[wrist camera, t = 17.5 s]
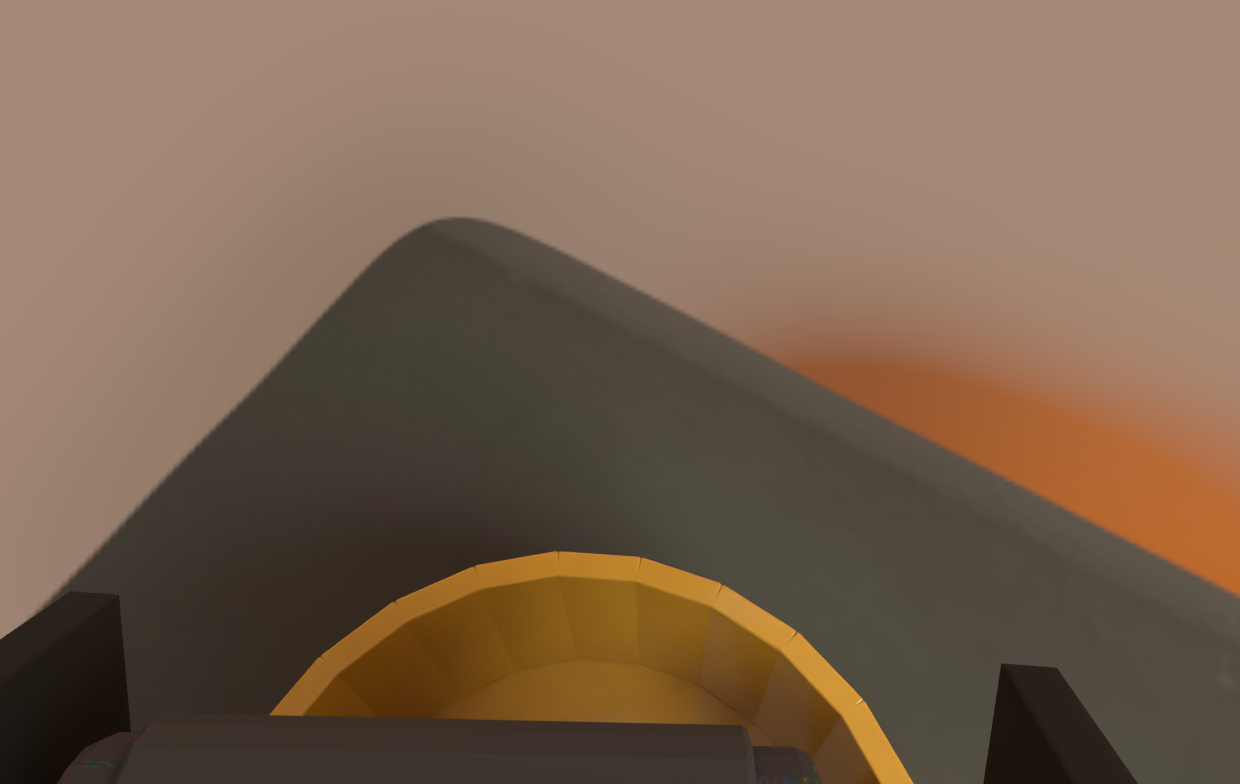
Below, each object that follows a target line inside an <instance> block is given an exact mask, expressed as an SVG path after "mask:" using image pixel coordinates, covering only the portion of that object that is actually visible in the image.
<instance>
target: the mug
mask: <svg viewBox="0 0 1240 784" xmlns="http://www.w3.org/2000/svg"><path fill="white" fill-rule="evenodd" d="M270 715H288V716H335V717H383V718H430V719H477V720H524V721H571V722H619V723H666V724H713V725H742V726H744V727H745V728H747V730H748V734H749V737H750V740H751V744H752V746H774V747H796V748H798V749H800V750H801V751H803V752H805V753H807V754H809V755H810V757H811V759H812V761H813V762H814V764H815V767H816V769H817V772H818V775H819V777H820V780H821V782H822V784H914V783H913V782H912V780H911V778H910V777H909V775H908V773H907V772H906V770H905V768H904V767H903V765H902V763H901V761H900V760H899V758H898V756H897V755H896V753H895V751H894V750H893V748H892V746H891V745H890V743H889V741H888V740H887V738H886V736H885V734H884V733H883V731H882V729H881V728H880V726H879V724H878V723H877V721H876V719H875V718H874V716H873V714H872V713H871V711H870V709H869V707H868V706H867V704H866V702H865V701H862V697H861V696H860V695H859V694H858V693H857V692H856V691H855V690H854V689H853V688H852V687H851V686H850V685H849V684H848V683H847V682H846V681H845V680H844V679H843V678H842V677H841V676H840V675H839V674H838V673H837V671H836V670H835V669H834V668H833V667H832V666H831V665H830V664H829V663H828V662H827V661H826V660H825V659H824V658H823V657H822V656H821V655H820V654H819V653H818V652H817V651H816V650H815V649H814V648H813V647H812V646H811V645H810V644H809V642H808V641H807V640H806V639H805V638H804V637H803V636H802V635H801V634H800V633H798V632H797V633H796V631H795V629H793V628H791V627H790V626H788V625H787V624H785V623H783V622H782V621H780V620H779V619H777V618H776V617H774V616H772V615H771V614H769V613H768V612H766V611H765V610H763V609H761V608H760V607H758V606H757V605H755V604H753V603H752V602H750V601H749V600H747V599H746V598H744V597H742V596H741V595H739V594H738V593H736V592H734V591H733V590H731V589H730V588H728V587H727V586H725V585H722V586H721V584H720V583H719V582H716V581H713V580H710V579H706V578H703V577H700V576H697V575H694V574H691V573H688V572H685V571H682V570H679V569H676V568H673V567H670V566H667V565H664V564H661V563H658V562H655V561H652V560H649V559H646V558H641V559H640V557H633V556H619V555H605V554H591V553H577V552H563V551H560V552H558V553H557V551H554V552H548V553H543V554H537V555H531V556H526V557H520V558H514V559H509V560H503V561H497V562H492V563H486V564H480V565H476V566H475V568H474V567H471V568H468V569H466V570H464V571H461V572H459V573H457V574H455V575H452V576H450V577H448V578H445V579H443V580H441V581H439V582H436V583H434V584H432V585H429V586H427V587H425V588H423V589H420V590H418V591H416V592H414V593H411V594H409V595H407V596H404V597H402V598H400V599H398V600H396V601H395V603H394V602H392V603H390V604H389V605H388V606H386V607H385V608H384V609H382V610H381V611H380V612H378V613H377V614H376V615H374V616H373V617H372V618H370V619H369V620H368V621H366V622H365V623H364V624H362V625H361V626H360V627H358V628H357V629H356V630H354V631H353V632H352V633H350V634H349V635H348V636H346V637H345V638H344V639H342V640H341V641H340V642H338V643H337V644H336V645H334V646H333V647H332V648H330V649H329V650H328V651H326V652H325V653H324V654H322V655H321V657H319V658H318V659H317V660H316V661H315V662H314V663H313V664H312V666H311V667H310V668H309V669H308V670H307V671H306V673H305V674H304V675H303V676H302V677H301V678H300V680H299V681H298V682H297V683H296V684H295V685H294V687H293V688H292V689H291V690H290V691H289V692H288V694H287V695H286V696H285V697H284V698H283V699H282V701H281V702H280V703H279V704H278V705H277V706H276V708H275V709H274V710H273V711H272V712H271V713H270Z"/></svg>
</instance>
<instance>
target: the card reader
mask: <svg viewBox="0 0 1240 784" xmlns="http://www.w3.org/2000/svg"><path fill="white" fill-rule="evenodd" d="M57 784H822V782H821V780H820V777H819V775H818V772H817V769H816V767H815V764H814V762H813V761H812V759H811V757H810V755H809V754H807V753H805V752H803V751H801V750H800V749H798V748H796V747H774V746H752V744H751V740H750V737H749V734H748V730H747V728H745V727H744V726H742V725H713V724H666V723H619V722H571V721H524V720H477V719H430V718H383V717H335V716H288V715H241V714H194V713H168V714H166V715H165V716H163V717H161V718H159V719H157V720H156V721H154V722H152V723H150V724H149V725H147V726H146V727H145V728H144V729H143V731H142V732H141V733H139V732H119V733H116V734H114V735H112V736H110V737H107V738H105V739H103V740H101V741H98V742H96V743H94V744H92V745H90V746H88V747H86V748H84V750H83V751H82V752H81V753H80V754H79V755H78V756H77V757H76V759H75V760H74V761H73V762H72V763H71V764H70V765H69V766H68V768H67V769H66V770H65V772H64V773H63V775H62V777H61V778H60V780H59V781H58V783H57Z"/></svg>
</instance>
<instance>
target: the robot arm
mask: <svg viewBox="0 0 1240 784" xmlns="http://www.w3.org/2000/svg"><path fill="white" fill-rule="evenodd" d="M119 732H131V729H130V717H129V706H128V694H127V683H126V671H125V660H124V648H123V637H122V625H121V614H120V602H119V595H111V594H99V593H86V592H73V591H70V592H69V593H67V594H66V595H64V596H63V597H62V598H60V599H59V600H57V601H56V602H54V603H53V604H51V605H50V606H48V607H47V608H45V609H44V610H43V611H41V612H40V613H38V614H37V615H35V616H34V617H32V618H31V619H29V620H28V621H26V622H25V623H24V624H22V625H21V626H19V627H18V628H16V629H15V630H13V631H12V632H10V633H9V634H7V635H6V636H5V637H3V638H2V639H0V784H57V783H58V781H59V780H60V778H61V777H62V775H63V773H64V772H65V770H66V769H67V768H68V766H69V765H70V764H71V763H72V762H73V761H74V760H75V759H76V757H77V756H78V755H79V754H80V753H81V752H82V751H83V750H84V748H86V747H88V746H90V745H92V744H94V743H96V742H98V741H101V740H103V739H105V738H107V737H110V736H112V735H114V734H116V733H119ZM984 784H1138V783H1137V782H1136V780H1135V779H1134V778H1133V776H1132V775H1131V773H1130V772H1129V770H1128V769H1127V768H1126V766H1125V765H1124V763H1123V762H1122V760H1121V759H1120V758H1119V756H1118V755H1117V753H1116V752H1115V750H1114V749H1113V748H1112V746H1111V745H1110V743H1109V742H1108V740H1107V739H1106V738H1105V736H1104V735H1103V733H1102V732H1101V730H1100V729H1099V728H1098V726H1097V725H1096V723H1095V722H1094V720H1093V719H1092V718H1091V716H1090V715H1089V713H1088V712H1087V710H1086V709H1085V708H1084V706H1083V705H1082V703H1081V702H1080V700H1079V699H1078V698H1077V696H1076V695H1075V693H1074V692H1073V690H1072V689H1071V688H1070V686H1069V685H1068V683H1067V682H1066V680H1065V679H1064V678H1063V676H1062V675H1061V673H1060V672H1059V670H1058V669H1057V668H1052V667H1039V666H1026V665H1014V664H1001V670H1000V677H999V683H998V690H997V697H996V703H995V710H994V717H993V723H992V730H991V737H990V744H989V750H988V757H987V764H986V770H985V777H984Z"/></svg>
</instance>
